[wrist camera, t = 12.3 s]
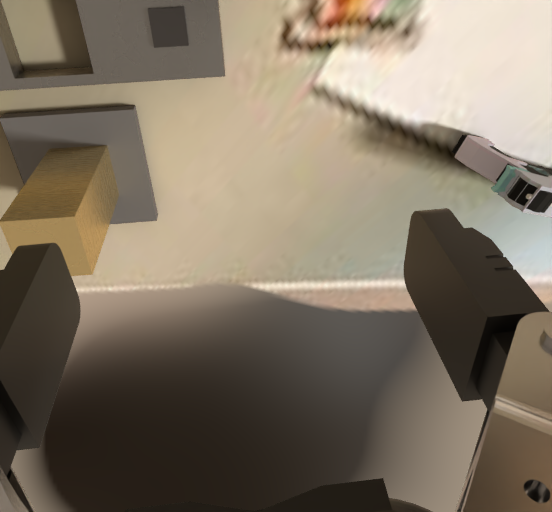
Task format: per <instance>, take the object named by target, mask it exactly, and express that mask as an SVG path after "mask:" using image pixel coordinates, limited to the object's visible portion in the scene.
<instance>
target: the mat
mask: <svg viewBox="0 0 552 512" xmlns="http://www.w3.org/2000/svg"><path fill="white" fill-rule="evenodd" d="M0 122H1V124H2V127H3V130H4V132H5V135H6V137H7V140H8V143H9V145H10V148H11V151H12V153H13V156H14V159H15V161H16V164H17V167H18V169H19V172H20V174H21V177H22V180H23V182H24V185H25V183H26V182H27V180H28V179H29V178H30V176H31V175H32V173H33V172H34V170H35V169H36V167H37V166H38V164H39V163H40V162H41V160H42V159H43V157H44V156H45V154H46V153H47V151H48V150H49V149H53V148H70V147H86V146H103V145H107V146H108V150H109V155H110V159H111V163H112V167H113V171H114V175H115V180H116V184H117V188H118V192H119V197H118V200H117V203H116V206H115V209H114V212H113V215H112V218H111V221H110V224H120V223H133V222H145V221H157V216H158V213H157V208H156V204H155V199H154V194H153V189H152V184H151V179H150V175H149V170H148V165H147V160H146V155H145V151H144V146H143V141H142V136H141V131H140V126H139V122H138V117H137V112H136V107H135V105H131V106H116V107H101V108H86V109H71V110H56V111H41V112H26V113H11V114H4V115H2V116H1V117H0Z"/></svg>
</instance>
